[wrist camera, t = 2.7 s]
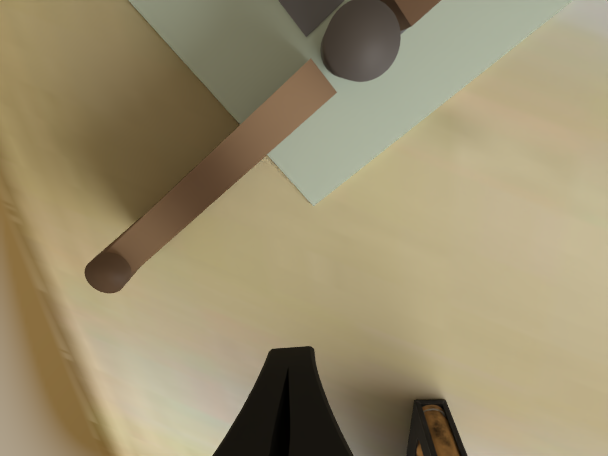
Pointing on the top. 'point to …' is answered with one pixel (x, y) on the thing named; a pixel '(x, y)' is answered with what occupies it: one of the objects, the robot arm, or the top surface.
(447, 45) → the card
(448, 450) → the ammunition clip
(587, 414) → the top surface
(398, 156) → the top surface
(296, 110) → the fence gate
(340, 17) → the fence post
